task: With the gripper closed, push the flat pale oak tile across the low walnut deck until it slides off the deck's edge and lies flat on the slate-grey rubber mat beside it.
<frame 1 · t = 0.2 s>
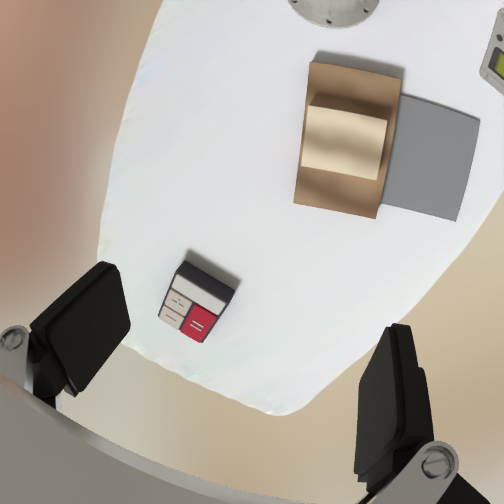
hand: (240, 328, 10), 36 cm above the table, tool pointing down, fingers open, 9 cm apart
oak tile: (343, 140, 37), point 2 cm above the table, touching walnut deck
rubber mat: (431, 160, 36), on the table
walnut deck: (346, 139, 38), on the table
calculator: (197, 299, 60), on the table
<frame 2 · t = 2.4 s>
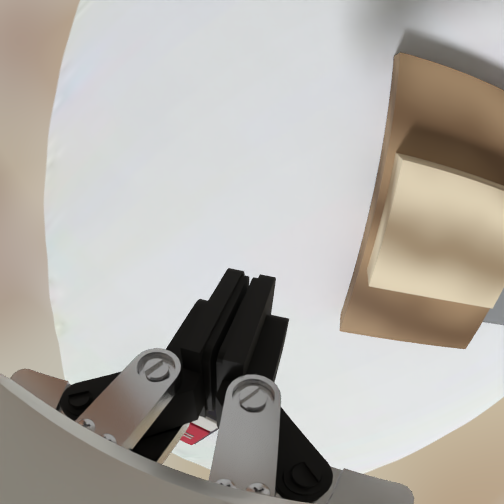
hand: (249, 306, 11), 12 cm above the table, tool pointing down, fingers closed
oak tile: (450, 230, 17), point 2 cm above the table, touching walnut deck
walnut deck: (448, 220, 18), on the table
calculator: (183, 400, 40), on the table
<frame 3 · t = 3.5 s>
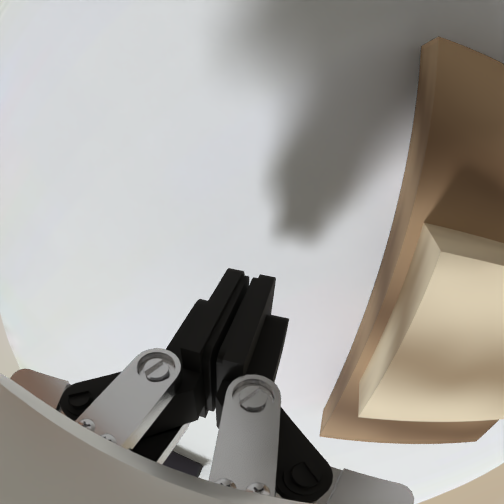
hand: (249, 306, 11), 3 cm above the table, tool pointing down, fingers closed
oak tile: (487, 332, 10), point 2 cm above the table, touching walnut deck
walnut deck: (482, 305, 11), on the table
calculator: (152, 453, 32), on the table
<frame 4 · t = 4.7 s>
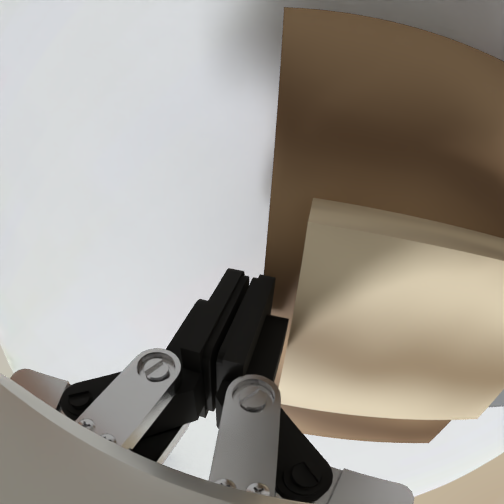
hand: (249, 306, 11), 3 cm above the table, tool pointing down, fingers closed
oak tile: (420, 320, 10), point 2 cm above the table, touching gripper, walnut deck
walnut deck: (405, 291, 12), on the table
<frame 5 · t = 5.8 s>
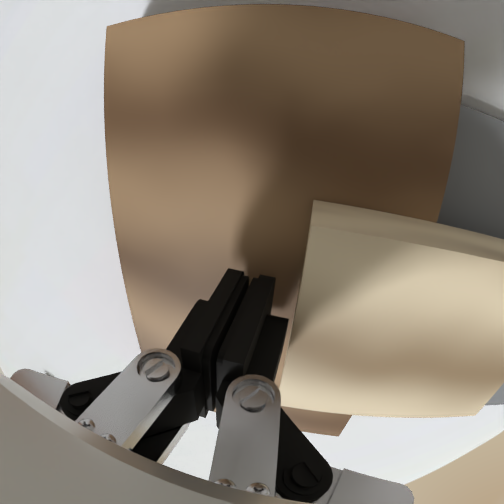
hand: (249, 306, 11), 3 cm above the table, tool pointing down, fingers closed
oak tile: (419, 320, 10), point 2 cm above the table, touching walnut deck
walnut deck: (262, 263, 13), on the table
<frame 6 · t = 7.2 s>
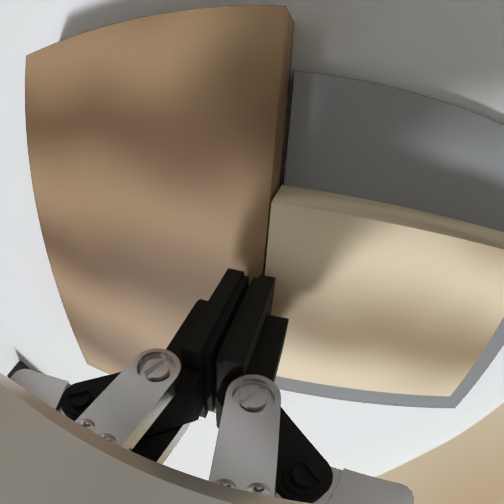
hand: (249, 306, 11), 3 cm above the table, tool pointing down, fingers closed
oak tile: (385, 296, 12), resting on rubber mat
rubber mat: (419, 293, 12), on the table
walnut deck: (149, 242, 14), on the table
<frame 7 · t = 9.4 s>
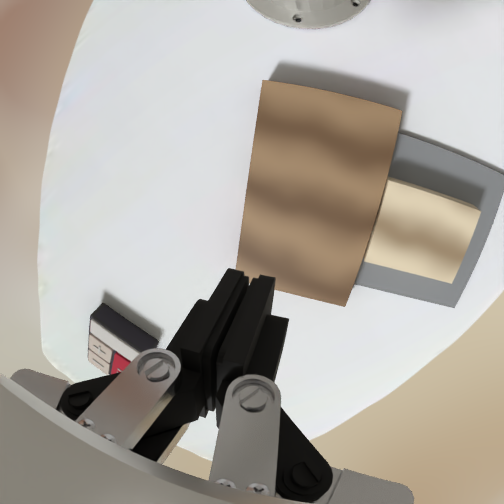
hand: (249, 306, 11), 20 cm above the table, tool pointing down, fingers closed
oak tile: (420, 228, 26), resting on rubber mat
rubber mat: (433, 229, 26), on the table
walnut deck: (313, 196, 28), on the table
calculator: (124, 344, 48), on the table
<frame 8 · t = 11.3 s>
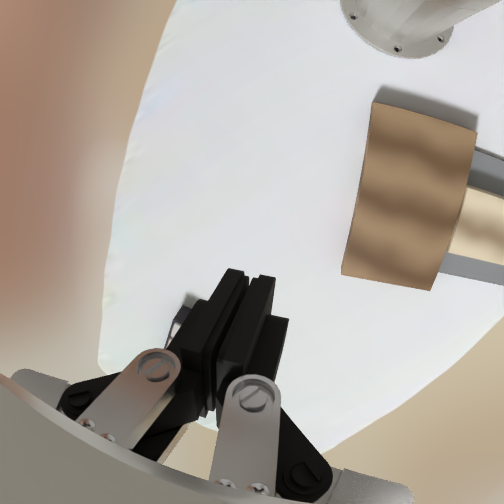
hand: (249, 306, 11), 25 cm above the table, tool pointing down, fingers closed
oak tile: (484, 223, 29), resting on rubber mat
rubber mat: (493, 223, 29), on the table
walnut deck: (407, 200, 31), on the table
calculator: (201, 344, 52), on the table
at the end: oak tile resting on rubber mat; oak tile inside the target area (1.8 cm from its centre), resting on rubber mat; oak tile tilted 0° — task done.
